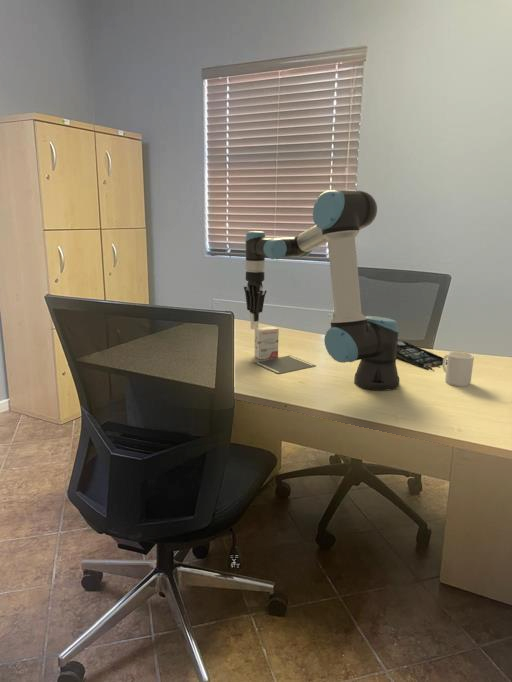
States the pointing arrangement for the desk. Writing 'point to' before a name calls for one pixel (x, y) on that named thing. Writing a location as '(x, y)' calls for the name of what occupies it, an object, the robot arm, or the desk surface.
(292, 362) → the mat
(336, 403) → the desk surface
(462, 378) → the cup
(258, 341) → the ink box
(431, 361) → the building model
